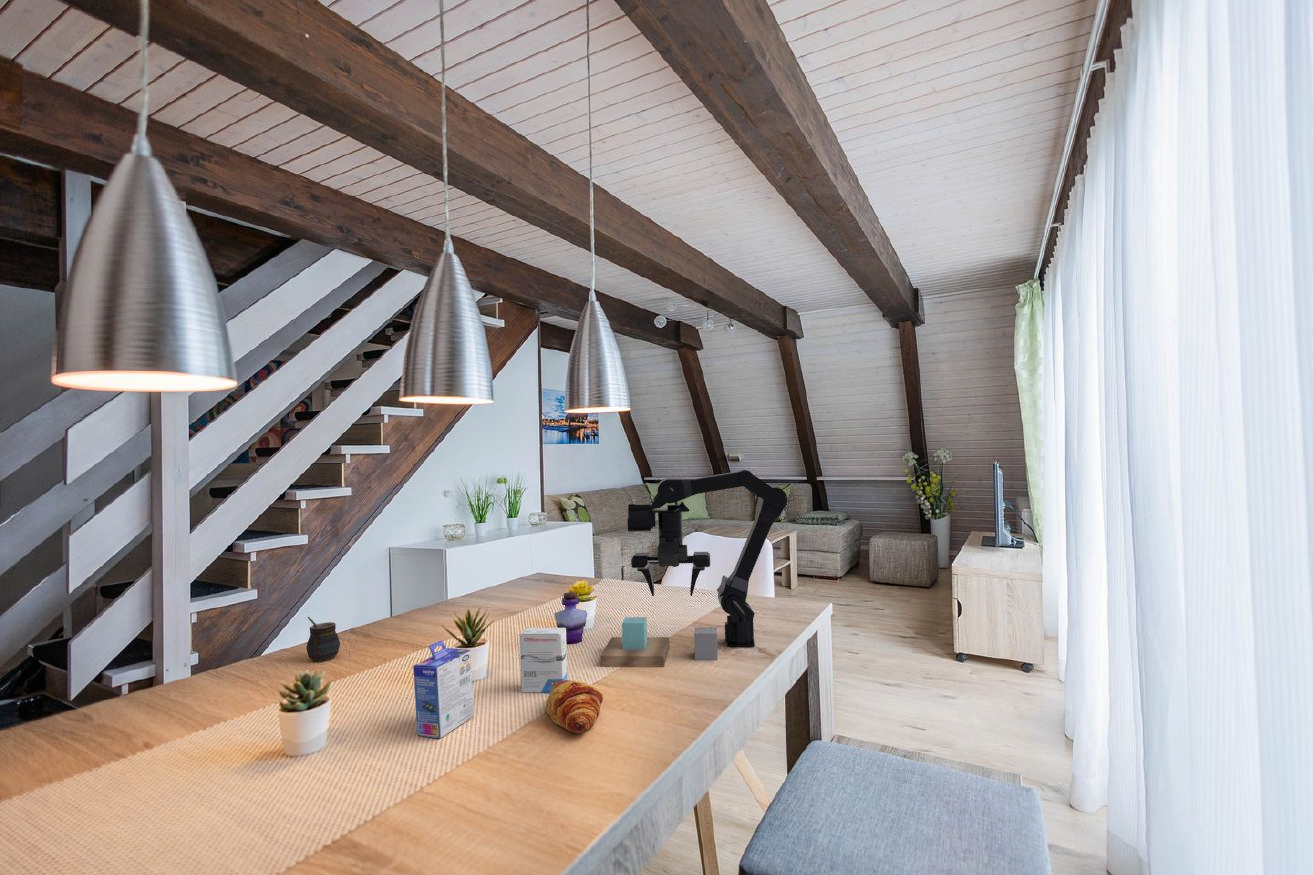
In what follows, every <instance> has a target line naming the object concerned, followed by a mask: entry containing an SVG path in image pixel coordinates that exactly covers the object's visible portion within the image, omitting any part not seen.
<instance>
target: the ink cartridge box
mask: <svg viewBox="0 0 1313 875" xmlns="http://www.w3.org/2000/svg"><path fill="white" fill-rule="evenodd" d="M437 647H442V649H440V650H438V651H435V649H437ZM428 648H429V649H430V650H429V651H430V653H431V656H430V657H428V658H426V659H424V660H422V661H421V662H418V663H417V664H416V663H415V664H414V665H413V666H412V668H413V681H414V683H413V684H414V685H413V686H414V699H415V700H414V701H415V718H416V734H417V736H420V737H427V738H433V739H441V738H443V737H445V736H446V735H448V734H449V733H450V732H452V731H453V730H455V729H457V728H459V726H461V725H463V724H464V723H465V722H467V721H469V720H470V719H471V718H473V717H474V716H475V712H474V692H473V691H474V690H473V675H472V672H473V671H472V653H471V652H472V650H470V649H463V648H456V647H455V648H453V647H452V648H451V647H450V648H447V647H446V645H445V643H444V641H443V640H439V641H437V642H435V643H432V644H430V645H429V646H428Z"/></svg>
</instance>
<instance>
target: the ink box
mask: <svg viewBox="0 0 1313 875" xmlns="http://www.w3.org/2000/svg"><path fill="white" fill-rule="evenodd" d="M518 635H519V653H520V654H519V655H520V657H519V658H520V659H519V660H520V686H521V687H520V688H521V691H520V692H521V693H523V694H524V693H550V692H551V691H552V688H553V687H554V686H555V684H556V683H558V682H560V681H564V680H568V659H567V658H568V657H567V656H568V655H567V654H568V653H567V644H566V628H558V627H526V628H525V629H524V630H523V631H521V633H519V634H518Z"/></svg>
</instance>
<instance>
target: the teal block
mask: <svg viewBox="0 0 1313 875" xmlns="http://www.w3.org/2000/svg"><path fill="white" fill-rule="evenodd" d="M647 622H648V621H647V616H645V617H643V616H641V617H640V616H635V617H634V616H633V617H627V616H626V617H624V619H623V620H622V622H621V633H622V636H621V637H622V641H623V650H645V648H646V645H647V637H648V626H647V625H648V624H647Z"/></svg>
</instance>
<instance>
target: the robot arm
mask: <svg viewBox="0 0 1313 875" xmlns="http://www.w3.org/2000/svg"><path fill="white" fill-rule="evenodd" d="M741 487H743V488H745V489H746V490H747V491H749V492H750V493H751V494H753V495H754V496H755V497H757V499H758V500H757V503H756V508H755V509H756V510H755V517H754V520H753V523H752V525H751V528H750V531H749V533H748V535H747V538H746V540H745V542H744V545H743V548H742V549H741V552H740V554H739V557H738V559H737V562H736V564H735V567H734V569H733V571H732V572H731V574H730V575H729V576H726V575H722V578H721V581H720V585H719V586H718V587H717V589H716V592H717V599H718V603H719V605H720V606H721V609H722V610H723V611H724V612H725V613H726V614H728V615H726V621H725V622H724V642H725V643H726V646H727V647H735V648H737V647H739V648H740V647H742V648H743V647H745V648H746V647H749V648H750V647H751V648H752V647H753V648H754V647H756V643H755V642H756V641H755V633H754V632H755V631H754V630H755V629H754V618H755V612H754V610H753V608H752V607H751V606H750V603H748V602H747V601H746V600H747V597H748V592H749V581H750V578H751V576H752V573H753V571H754V569H755V566H756V564H757V562H758V559H759V557H760V554H761V551H762V549H763V547H764V544H765V541H766V539H767V537H768V534H769V532H770V530H771V527H772V525H773V524H775V522H776V521H777V520H778V518H780V516H781V514H782V513H783V511H785V510H784V509H785V508H786V507H787V504H788V500H789V499H788V495H787V494H786V492H785V490H784V489H782V488H780V487H776V486H774V485H773V486H772V485H769V484H768V483H766V482H765V481H763V480H762V479H760V478H759V477H757V476H756V475H754V474H753V473H752V471H750V470H747V469H739V470H738V471H733V472H726V473H725V472H724V473H721V474H715V475H714V474H713V475H708V476H702V477H695V478H685V477H684V478H682V477H681V478H679V477H678V478H677V477H674V478H673V477H667V478H664V479H662V480H661V481H660V482H659V483H658V484H657V487H656V492H657V493H656V494H655V495H654V497H653V499H651V501H650V503H633V502H632V503H628V504H627V514H628V515H627V518H626V519H627V533H641V532H642V533H643V532H646V533H647V532H651V531H652V529H653V528H655V527H656V514H657V521H658V522H657V523H658V524H657V525H658V526H657V527H658V529H657V530H658V546H657V555H651V553H650V552H635V553H634V554H633V555H632V557H631V560H630V561H631V562H630V564H631V566H630V567H631V568H632V569H636V570H637V572H641V573H642V575H643V576H644V579H645V580H646V583H647V585H648V588H649V591H650V594H651V597H655V584H654V583H655V582H654V575H653V567H652V565H658V566H659V567H661V568H665V567H672V568H677V567H679V566H680V564H692V568H691V580H690V587H689V588H690V589H689V592H690V593H689V595H690V597H693V594H694V590H695V587H696V582H697V581H698V580H697V579H698V576H699V575H700V573H701V572H702V571H703V572H704V571H705V569H706V568H710V567H711V553H709V551H694V552H693V555H689V554H688V544H683V518H682V515H683V514H682V513H689V512H690V509H689V507H688V506H687V505H685V503H684V501H683V500H685V499H688V498H690V497H693V496H695V495H698V494H705V493H711V492H717V491H722V490H728V489H735V488H741ZM677 502H679V504H675V503H677ZM666 504H667V505H666ZM665 505H666V508H662V507H663V506H665Z"/></svg>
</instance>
